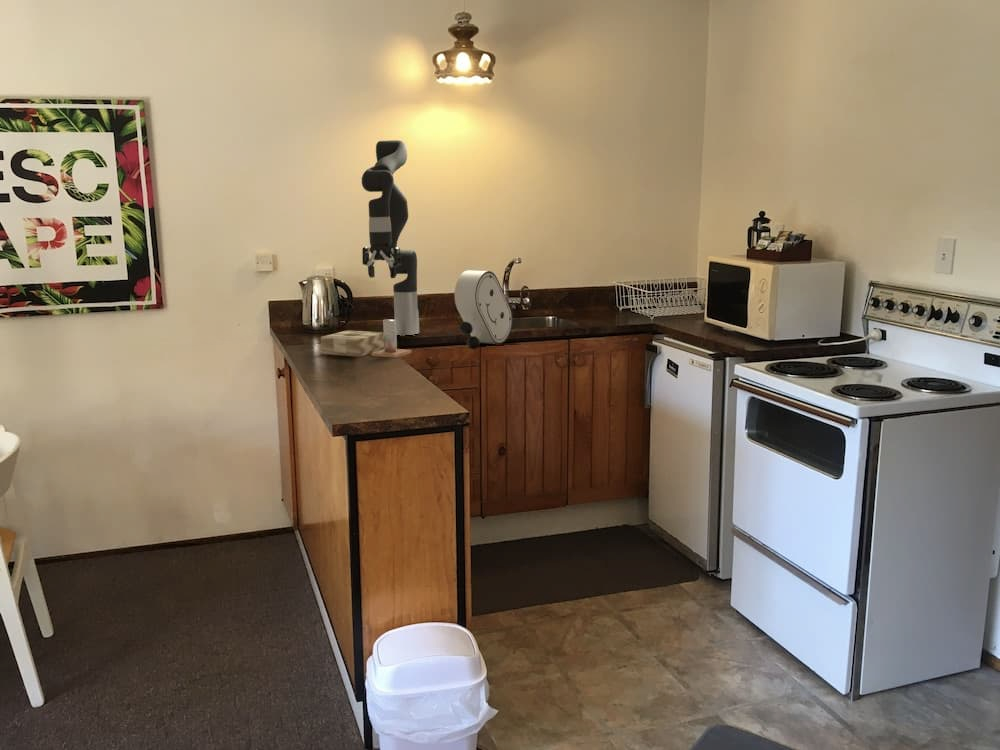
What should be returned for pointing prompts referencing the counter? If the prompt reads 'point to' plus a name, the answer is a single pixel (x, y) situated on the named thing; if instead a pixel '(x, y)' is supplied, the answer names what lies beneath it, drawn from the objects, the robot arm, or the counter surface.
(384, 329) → the light grey cylinder
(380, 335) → the bore block
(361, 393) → the counter surface
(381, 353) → the coaster
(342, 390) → the counter surface
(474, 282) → the robot
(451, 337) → the counter surface
